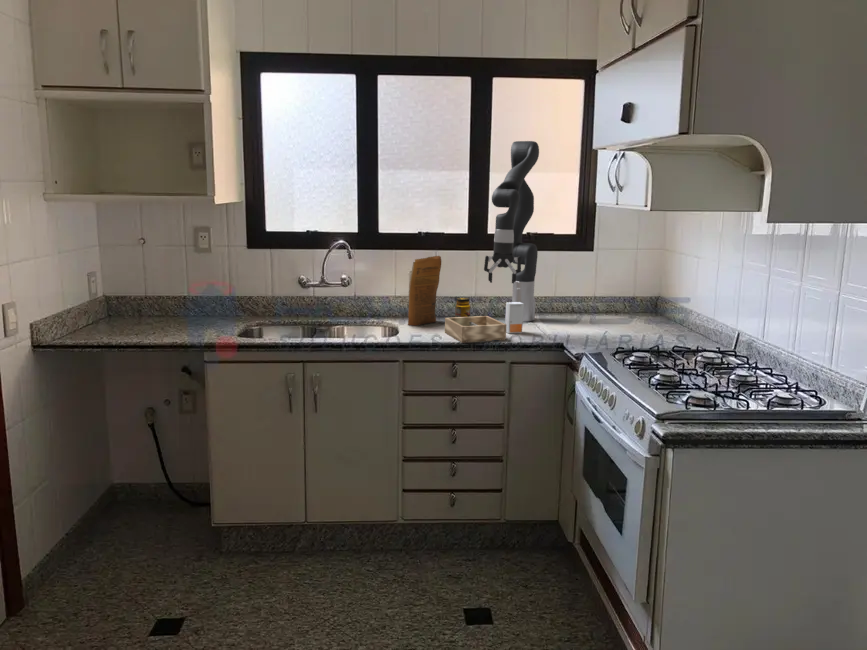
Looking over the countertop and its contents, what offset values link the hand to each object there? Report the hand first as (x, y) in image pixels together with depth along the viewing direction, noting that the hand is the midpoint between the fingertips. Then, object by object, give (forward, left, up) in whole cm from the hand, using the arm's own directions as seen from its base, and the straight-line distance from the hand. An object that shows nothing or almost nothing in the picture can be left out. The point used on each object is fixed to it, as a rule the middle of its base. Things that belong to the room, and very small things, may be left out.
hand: (501, 282), depth 283 cm
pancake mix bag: (+23, -25, -20) cm, 40 cm away
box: (+12, +4, -20) cm, 24 cm away
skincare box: (-6, +1, -20) cm, 21 cm away
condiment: (+11, -14, -20) cm, 27 cm away
